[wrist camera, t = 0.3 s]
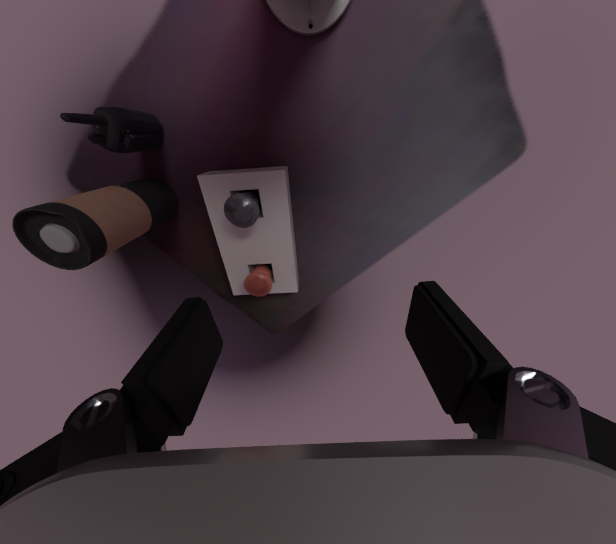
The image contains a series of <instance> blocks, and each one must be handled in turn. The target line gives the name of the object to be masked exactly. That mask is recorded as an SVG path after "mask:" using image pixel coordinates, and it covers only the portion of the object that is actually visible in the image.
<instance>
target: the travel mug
mask: <svg viewBox="0 0 616 544" xmlns="http://www.w3.org/2000/svg"><path fill="white" fill-rule="evenodd" d="M176 209H177V198H176V196H175V194H174V192H173V191H172V189H171V188H170V187H169V186H168V185H167V184H165V183H164V182H162V181H160V180H157V179H153V178H149V179H142V180H137V181H132V182H127V183H123V184H118V185H113V186H108V187H105V188H101V189H97V190H93V191H90V192H86V193H82V194H79V195H75V196H71V197H67V198H64V199H60V200H56V201H53V202H49V203H45V204H41V205H37V206H34V207H30V208H26V209H24V210H21V211H20V212H18V213H17V214H16V215H15V216H14V218H13V230H14V232H15V235H16V237H17V238H18V240H19V241H20V243H21V244H22V245H23V246H24V247H25V248H26V249H27V250H28V251H29V252H30V253H31V254H33V255H34V256H35V257H37V258H38V259H40V260H42V261H44V262H46V263H47V264H49V265H52V266H54V267H58V268H61V269H66V270H77V269H82V268H84V267H86V266H88V265H90V264H92V263H93V262H95V261H97V260H99V259H100V258H102V257H104V256H106V255H107V254H109V253H111V252H113V251H114V250H116V249H118V248H120V247H121V246H123V245H125V244H126V243H128V242H130V241H132V240H133V239H135V238H137V237H139V236H140V235H142V234H144V233H145V232H147V231H149V230H150V229H152V228H153V227H155V226H156V225H158V224H159V223H161V222H162V221H164V220H165V219H167V218H168V217H170V216H171V215H172V214H174V212H175V211H176Z"/></svg>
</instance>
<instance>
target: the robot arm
mask: <svg viewBox="0 0 616 544" xmlns="http://www.w3.org/2000/svg"><path fill="white" fill-rule="evenodd" d="M265 1H266V3H267V4H268V6H269V8H270V10H271V12H272V13H273V15H274V16H275V17H276V18H277V20H278V21H279V22H280V23H281V24H282V25H283V26H285V27H286V28H287V29H289V30H290V31H292V32H294V33H296V34H300V35H304V36H312V35H317V34H320V33H323V32H324V31H326V30H328V29H329V28H331V27H332V26H333V25H334V24H335V23H336V22H337V21H338V20H339V19H340V18H341V16H342V15H343V14H344V12H345V11H346V9H347V7H348V5H349V3H350V1H351V0H272V1H271V0H265ZM309 25H312V26H313V28H312V29H310V28H309ZM405 333H406V337H407V339H408V341H409V343H410V345H411V347H412V349H413V351H414V353H415V355H416V357H417V359H418V361H419V363H420V365H421V367H422V369H423V371H424V372H425V375H426V376H427V379H428V381H429V382H430V385H431V386H432V388H433V390H434V392H435V394H436V396H437V398H438V400H439V402H440V404H441V406H442V408H443V410H444V411H445V413H446V414H450V415H451V417H452V419H453V421H454V423H455V424H461V423H469V425H470V427H471V428H472V430H473V432H474V435H473V439H451V440H450V439H447V440H409V441H381V442H353V443H328V444H304V445H303V444H302V445H277V446H253V447H231V448H212V449H211V448H210V449H190V450H189V449H188V450H171V451H167V450H166V445H165V442H166V440H167V438H168V436H182V435H183V434H184V432H185V430H186V427H187V426H189V425H190V424H191V423H192V421H193V418H194V416H195V414H196V411H197V409H198V406H199V404H200V401H201V399H202V397H203V394H204V392H205V389H206V387H207V384H208V382H209V379H210V377H211V375H212V372H213V370H214V367H215V365H216V362H217V360H218V357H219V355H220V353H221V350H222V347H223V341H222V338H221V335H220V333H219V331H218V328H217V326H216V323H215V321H214V319H213V317H212V314H211V311H210V309H209V307H208V304H207V302H206V301H205V300H203V299H202V298H200V297H196V298H187V299H185V300H184V302H183V303H182V304H181V305H180V307H179V308H178V309H177V311H176V312H175V313H174V314H173V316H172V317H171V318H170V320H169V321H168V322H167V324H166V325H165V326H164V327H163V329H162V330H161V331H160V333H159V334H158V335H157V336H156V338H155V339H154V340H153V342H152V343H151V344H150V346H149V347H148V348H147V349H146V351H145V352H144V353H143V355H142V356H141V357H140V359H139V360H138V361H137V362H136V364H135V365H134V366H133V368H132V369H131V370H130V372H129V373H128V374H127V375H126V377H125V378H124V379H123V380H122V382H121V383H122V384H123V386H122V388H121V389H120V390H118V389H113V388H110V389H106V390H103V391H100V392H98V393H96V394H94V395H93V396H91V397H89V398H88V399H86V400H85V401H84V402H82V403H81V404H80V405H79V406H78V407H77V408H76V409H75V410H74V411H73V412H72V413H71V414H70V416H69V417H68V419H67V420H66V421H65V424H64V427H63V431H62V432H61V433H60V434H58V435H56V436H55V437H53V438H52V439H50V440H48V441H47V442H45V443H43V444H42V445H40V446H38V447H37V448H35V449H34V450H32V451H30V452H29V453H27V454H26V455H24V456H22V457H21V458H19V459H18V460H16V461H14V462H13V463H11V464H9V465H8V466H6V467H5V468H3V469H1V470H0V544H616V423H614V422H612V421H610V420H608V419H605V418H603V417H601V416H599V415H597V414H595V413H593V412H590V411H588V410H586V409H584V408H582V407H580V406H579V404H578V401H577V399H576V397H575V396H574V394H573V393H572V392H571V391H570V390H569V389H568V388H567V387H566V386H565V385H564V384H563V383H561V382H560V381H558V380H557V379H555V378H554V377H552V376H551V375H548V374H546V373H544V372H542V371H540V370H536V369H533V368H528V367H516V368H513V367H512V366H511V365H510V364H509V363H508V361H507V360H506V359H505V358H504V357H503V355H502V354H501V353H500V352H499V351H498V350H497V349H496V348H495V346H494V345H493V344H492V343H491V342H490V341H489V340H488V339H487V338H486V337H485V336H484V335H483V333H482V332H481V331H480V330H479V329H478V328H477V327H476V326H475V325H474V324H473V323H472V321H471V320H470V319H469V318H468V317H467V316H466V315H465V314H464V312H463V311H461V309H460V308H459V307H458V306H457V305H456V304H455V303H454V302H453V300H452V299H451V298H450V297H449V296H448V295H447V294H446V293H445V292H444V291H443V289H442V288H441V287H440V286H439V285H438V284H437V283H436V282H435V281H426V282H419V284H418V285H416V286H415V287H414V290H413V294H412V300H411V304H410V309H409V314H408V319H407V324H406V328H405Z"/></svg>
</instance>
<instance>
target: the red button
mask: <svg viewBox="0 0 616 544" xmlns="http://www.w3.org/2000/svg"><path fill="white" fill-rule="evenodd" d="M271 276H272V272H271V269H270V268H269V267H267V266H266V265H256V266H255V267H254V268H253V270H252V272H251V273H250V274H248V275H247V277H246V278H245V281H244V288H245V290H246V291H247V292H248V293H249V294H251V295H253V296H258V297H261V296H265V295H267V294H268V293H269V292H270V291H271V288H272V281H271Z"/></svg>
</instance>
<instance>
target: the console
mask: <svg viewBox="0 0 616 544" xmlns="http://www.w3.org/2000/svg"><path fill="white" fill-rule="evenodd" d="M197 178H198V181H199V185H200V188H201V191H202V194H203V198H204V201H205V204H206V207H207V211H208V214H209V217H210V220H211V223H212V227H213V230H214V233H215V236H216V240H217V243H218V246H219V249H220V253H221V256H222V259H223V262H224V266H225V269H226V272H227V275H228V279H229V282H230V285H231V288H232V292H233V295H250V294H249V293H248V292H247V291H246V290H245V288H244V281H245V278H246V277H247V275H248V274H250V273H251V272H252V270H253V268H254V267H255V266H256V265H255V264H270V263H272V269H273V271H271V272H272V276H271V281H272V288H271V291H270V292H269V293H268V294H270V293H290V292H298V283H299V277H298V267H297V257H296V247H295V237H294V227H293V217H292V207H291V197H290V188H289V178H288V168H287V166H280V167H265V168H251V169H236V170H221V171H208V172H206V173H203V174H200V175H197ZM252 189H259V194H260V200H261V205H262V210H259V216H258V219H257V221H256V222H255V223H254V224H253V225H252V226H250V227H248V228H240V227H237V226H235V225H233V224H232V223H230V222H229V221H228V219H227V218H226V216H225V213H224V204H225V202H226V200H227V199H228V198H229V197H230V196H231V195H233V194H236V193H240V192H239V190H252Z"/></svg>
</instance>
